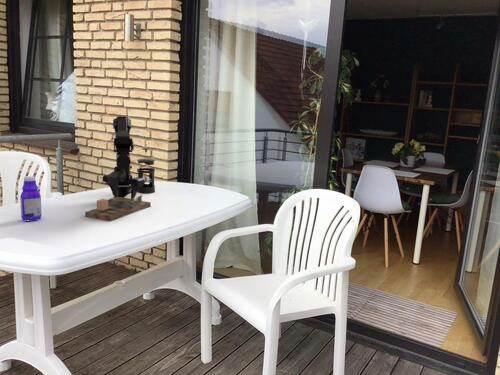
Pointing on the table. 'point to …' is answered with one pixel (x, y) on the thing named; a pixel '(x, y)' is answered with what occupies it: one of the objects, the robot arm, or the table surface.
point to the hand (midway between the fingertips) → (123, 198)
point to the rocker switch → (135, 196)
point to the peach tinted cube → (102, 204)
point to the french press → (146, 187)
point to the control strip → (118, 209)
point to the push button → (123, 199)
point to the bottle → (30, 200)
